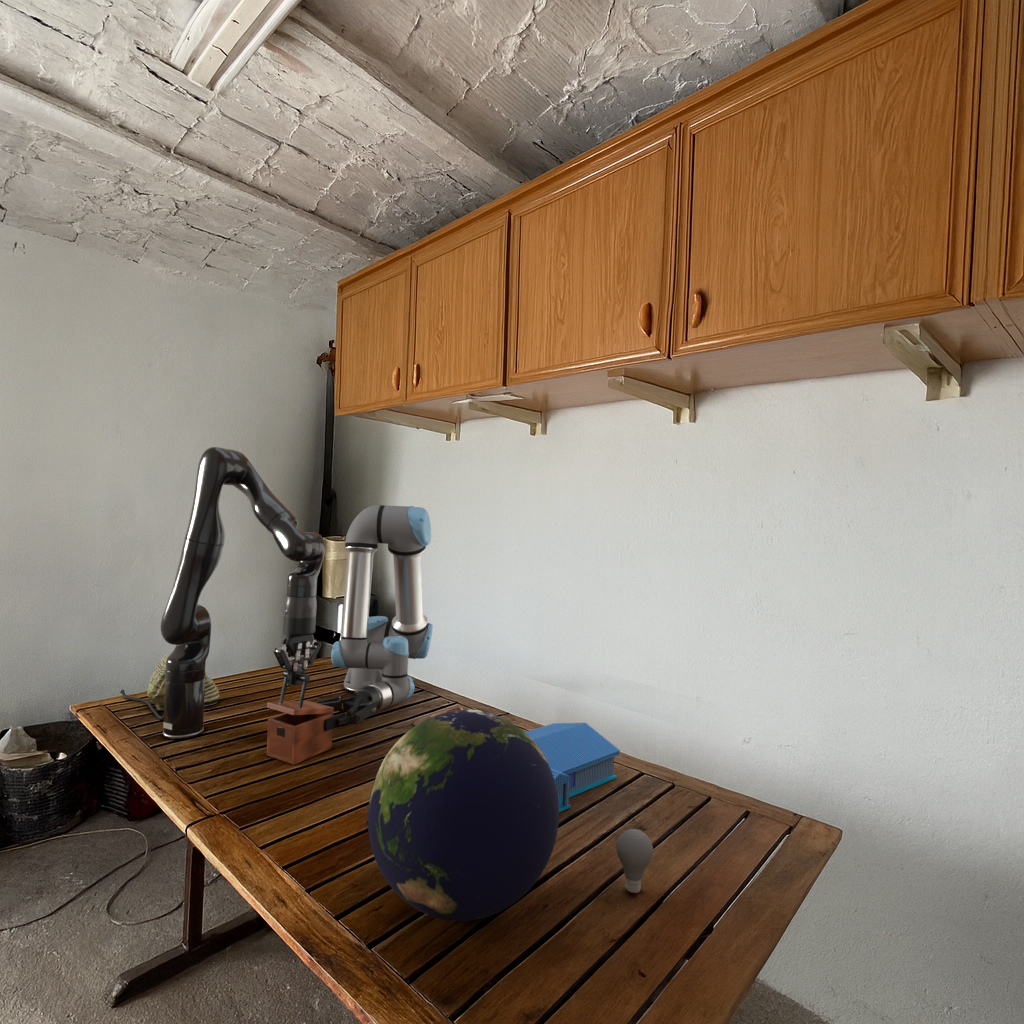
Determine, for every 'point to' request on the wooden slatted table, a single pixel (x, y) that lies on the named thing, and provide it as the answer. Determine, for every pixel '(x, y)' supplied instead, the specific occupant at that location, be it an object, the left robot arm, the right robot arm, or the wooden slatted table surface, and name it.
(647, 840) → the light bulb
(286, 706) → the lid
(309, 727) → the chest
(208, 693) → the fossil
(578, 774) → the model building
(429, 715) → the anatomical model
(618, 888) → the wooden slatted table surface
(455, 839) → the globe
